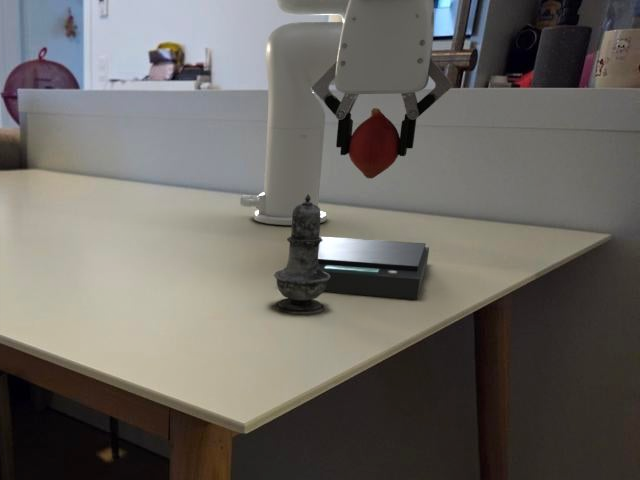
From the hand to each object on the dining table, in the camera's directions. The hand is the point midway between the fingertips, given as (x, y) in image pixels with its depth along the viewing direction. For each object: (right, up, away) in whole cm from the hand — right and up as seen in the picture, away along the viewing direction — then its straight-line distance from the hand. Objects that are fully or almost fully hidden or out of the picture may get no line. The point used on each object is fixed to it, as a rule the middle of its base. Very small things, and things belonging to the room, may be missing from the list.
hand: (373, 153), depth 87 cm
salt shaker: (-11, -20, -8) cm, 24 cm away
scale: (0, -14, +4) cm, 15 cm away
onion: (0, -3, +1) cm, 3 cm away
